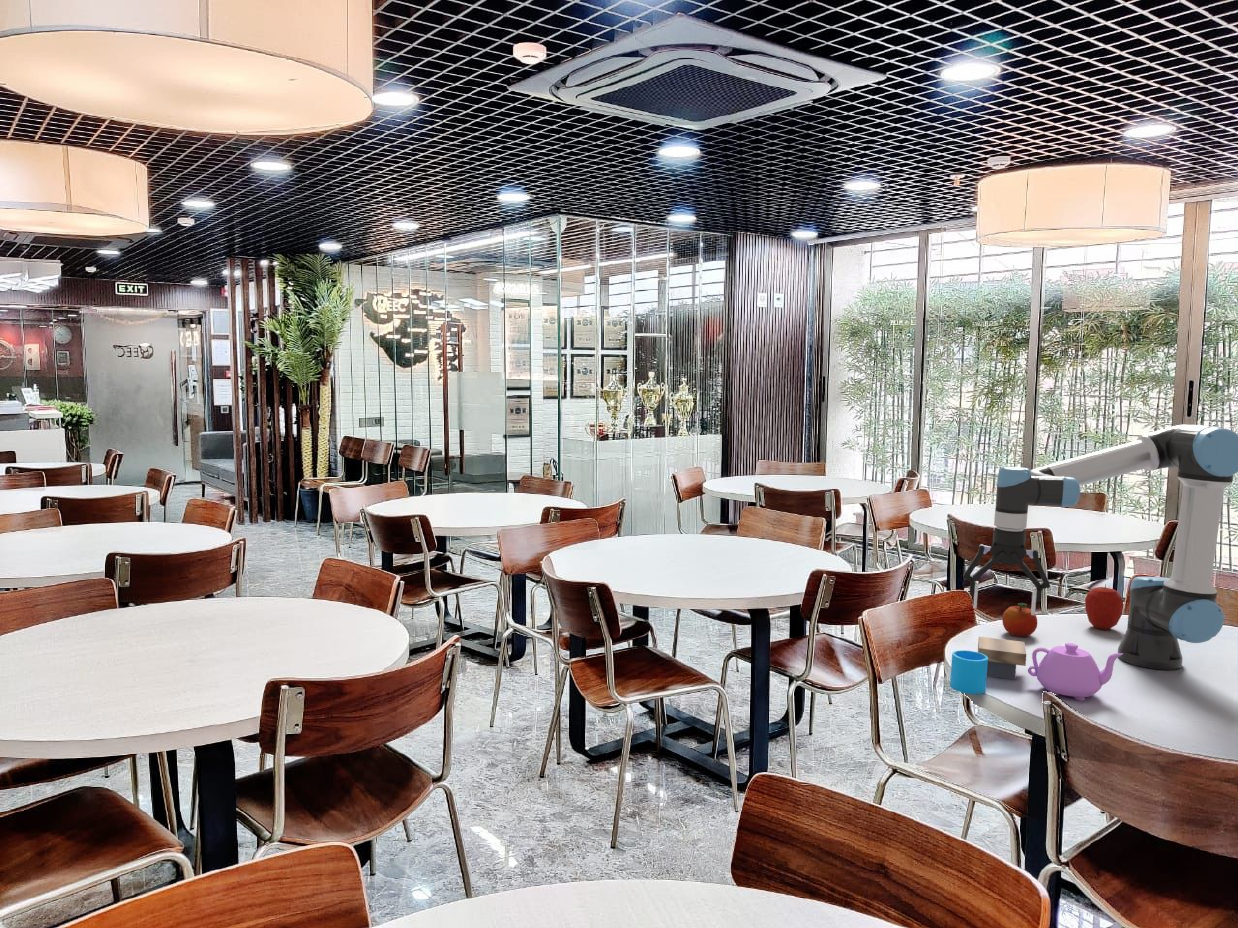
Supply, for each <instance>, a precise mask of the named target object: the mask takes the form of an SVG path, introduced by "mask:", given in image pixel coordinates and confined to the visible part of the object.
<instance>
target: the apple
mask: <svg viewBox="0 0 1238 928" xmlns="http://www.w3.org/2000/svg"><path fill="white" fill-rule="evenodd" d="M1084 604H1085V605H1084V606H1085V608H1084V609H1085V613H1086V616H1087V619H1088V622H1089V623H1090V624H1091V625H1092V627H1094V628H1095V629H1098V630H1101V631H1109V630H1111V629H1112V628H1114V627H1115V626H1117V625H1118V623H1119V621H1120V619H1121V617H1122V614H1123V610H1124V602H1123V599H1122V595H1121V594H1120V593H1119V592H1118V590H1116V589H1114V588H1111V587H1107V584H1105V586H1098V587H1097V586H1096V587H1093V588H1092V589H1090V590H1089V591H1088V593H1087V594H1086V596H1085V598H1084Z"/></svg>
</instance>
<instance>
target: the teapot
mask: <svg viewBox="0 0 1238 928" xmlns="http://www.w3.org/2000/svg"><path fill="white" fill-rule="evenodd" d="M1039 652H1043V653H1046V654H1045V655H1044V656H1043V658H1042V659H1041V661H1040V663H1038V659H1037V655H1038V654H1037V653H1039ZM1122 654H1123V653H1118V652H1117V653H1112V654H1110V655H1109V656H1108V657H1107V660H1106V664H1105V667H1104V669H1102V670H1100V669H1099V667H1098V664H1097V663H1096V661H1095V659H1094V658H1093V656H1092V655H1091V653H1090V652H1089V651H1087V650H1085V649H1082V648H1079V645H1078V644H1076V643H1071V642H1067V643H1066V642H1065V644H1064V645H1062V646H1061V645H1059V646H1058V645H1057V646H1054V647H1052V648H1051V649H1048V648H1046V647H1037V648H1036V649H1034V650H1033V651H1032V654H1031V659H1032V664H1033V665H1031V666H1028V668H1027V673H1028V674H1029V675H1030V676H1032V677H1036V679H1037V680H1038V682H1039V684H1040V685H1041V687H1043V689H1045V690H1048V692H1049V691H1050V692H1052V693H1054V694H1056V695H1057V696H1059V695H1063V696H1069V697H1074V698H1073V699H1074V700H1075V701H1076V700H1077V701H1079V702H1085V701H1086V697H1087V698H1088V697H1092V696H1094V695H1095V694H1096V693H1098V692H1099V691H1100V690H1101V688H1102V686H1104V685H1106V684H1107V683H1108V682H1109V681H1110V680H1111V679H1112V677H1113V670H1114V665H1115V662H1116V660H1117V659H1118V657H1119V656H1121V655H1122ZM1032 669H1033V670H1034V671H1032ZM1057 696H1056V697H1057Z"/></svg>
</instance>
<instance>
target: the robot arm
mask: <svg viewBox="0 0 1238 928" xmlns="http://www.w3.org/2000/svg"><path fill="white" fill-rule="evenodd" d="M1166 468H1167V469H1169V468H1171V469H1173V468H1174V469H1177V470H1178V471H1177V479H1178V480H1179V481H1180V483H1182V487H1183V488H1182V493H1181V500H1180V509H1179V516H1178V517H1179V518H1178V524H1177V530H1176V538H1175V539H1176V540H1175V547H1174V553H1173V561H1172V568H1171V575H1170V577H1162V576H1161V577H1160V576H1136V577H1134V578H1133V579H1132V580H1131V583H1130V589H1129V601H1128V602H1129V603H1128V604H1129V605H1128V617H1127V628H1126V630H1125V633H1124V635H1123V637H1122V639H1121V641H1120V643H1119V645H1118V648H1117V653H1123V654H1122V655H1121V656H1119V657H1117V659H1119V660H1121V661H1123V662H1125V663H1128V664H1131V665H1133V666H1138V667H1142V668H1145V669H1146V668H1147V669H1153V670H1161V671H1164V670H1165V671H1166V670H1167V671H1168V670H1170V671H1172V670H1179V669H1182V667H1183V655H1182V651H1181V648H1180V643H1179V641H1178V640H1180V641H1185V642H1186V643H1187V642H1188V643H1191V644H1202V643H1206V642H1209V641H1210V640H1211V639H1213V638H1214V637H1216V636H1217V635H1218V634H1219V633H1220V632H1221V631H1222V628H1223V626H1224V623H1225V622H1224V620H1225V615H1224V612H1223V610H1222V609H1221V607H1220V606H1219V605H1218V604H1217V596H1218V590H1217V589H1216V587H1215V586H1214V585H1213V583H1212V578H1213V571H1214V563H1215V556H1216V550H1217V543H1218V535H1219V529H1220V528H1219V527H1220V520H1221V514H1222V513H1221V512H1222V506H1223V498H1224V491H1225V489H1226V488H1227V487H1229V486H1230V485H1232V484H1233V480H1234V475H1236V474H1237V473H1238V433H1236V432H1235V431H1233V430H1231V429H1228V428H1224V427H1222V426H1216V425H1214V426H1211V425H1200V424H1193V423H1184V424H1177V425H1173V426H1171V427H1167V428H1163V429H1160V430H1156V431H1151V432H1150V433H1149V432H1148V433H1145V434H1142V435H1140V436H1138V437H1137V439H1136V440H1135V441H1131V442H1127V443H1125V444H1120V445H1117V446H1114V447H1109V448H1105V449H1102V450H1099V451H1094V452H1092V453H1088V454H1083V455H1081V456H1077V457H1073V458H1070V459H1066V460H1063V461H1058V462H1055V463H1052V464H1048V465H1045V466H1040V467H1036V468H1033V469H1030V468H1028V467H1021V466H1020V467H1019V466H1004V467H1001V468H1000V469H999V470H998V474H997V480H996V493H995V497H996V498H995V509H994V517H993V518H994V521H993V525H994V526H995V527H994V528H993V535H992V543H991V546H990V545H989V546H988V545H984V544H983V543H980V544H979V546H978V551H977V552H976V555H975V556H974V557H973V559H972V560H971V562H970V564H969V565H968V567H967V568H966V570H965V572H964V573H963V580H966V581H968V582H969V594H970V595H972V596H973V605H972V607H973V609H977V607H978V596H979V595H978V594H979V593H978V592H979V581H978V580H979V579H980V578H981V577H983V575H985V574H986V573H987V572H988V571H989V570H990V569H991V568H992V567H994V566H995V565H996V564H997V563H998V564H1000V565H1001V566H1006V565H1007V566H1010V567H1011V566H1013V567H1014V566H1017V565H1018V567H1019V568H1020V569H1021V570H1022V572H1023V573H1024V574H1025V575H1026V577H1027V579H1029V580H1030V582H1031V583H1032V584H1033V585H1034V587H1032V593H1031V608H1030V609H1031V615H1035V614H1036V605H1037V603H1040V602H1041V601H1042V592H1043V590H1044V589H1049V588H1050V587H1051V584H1050V581H1049V579H1048V576H1047V575H1046V572H1045V570H1044V568H1043V566H1042V563H1041V561H1040V559H1039V552H1038V549H1037V548H1034V549H1026V540H1027V539H1026V537H1027V531H1026V529H1027V527H1028V526H1027V525H1028V523H1027V522H1028V511H1029V507H1030V506H1031V507H1034V506H1035V507H1037V506H1039V507H1058V508H1059V507H1060V508H1063V507H1064V508H1065V507H1066V508H1067V507H1068V508H1069V507H1071V508H1072V507H1074V506H1075V505H1077V503H1078V501H1079V500H1080V497H1081V486H1084V485H1089V484H1093V483H1095V482H1096V483H1097V482H1101V481H1103V480H1107V479H1111V478H1116V477H1118V476H1122V475H1126V474H1130V473H1134V472H1136V471H1141V470H1146V469H1147V470H1148V471H1156V470H1160V469H1166ZM988 552H990V553H991V555H992V557H991V558H990V559H989V560H988V561H987V562H986V563H984V564H983V566H981V568H979V569H978V570H976V572H975V573H974V574H972V573H973V571H974V570H975V568H976V567H977V565H978V564H979V562H980V561H981V559H982V557H983V556H984V555H986V554H988ZM1026 555H1028V556H1029V558H1030V559H1032V560H1033V563H1034V564H1035V567H1036V569H1037V572H1038V574H1039V577H1040V578H1041V581H1042V582H1040V580H1038V578H1037V577H1036V576H1035V575H1034V573H1033V572H1032V571H1031V569H1030V568H1029V567H1028V566H1027V564H1026V563H1025V562H1024V560H1023V559H1024V558H1025V557H1026Z"/></svg>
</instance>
